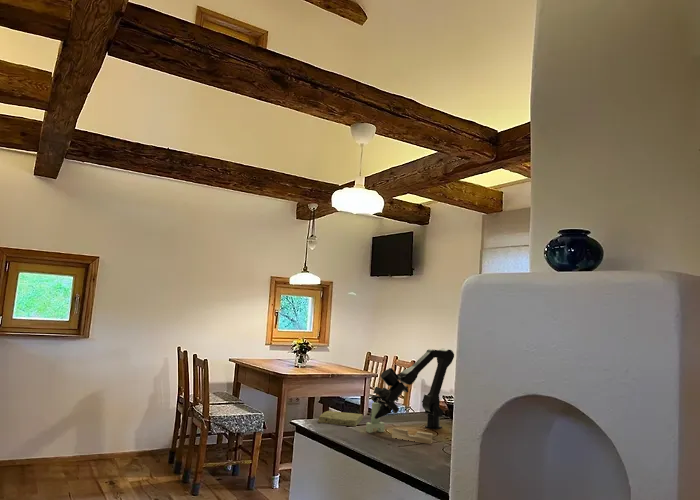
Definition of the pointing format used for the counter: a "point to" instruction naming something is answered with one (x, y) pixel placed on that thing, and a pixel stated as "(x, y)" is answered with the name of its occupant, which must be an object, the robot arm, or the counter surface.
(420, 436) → the birch slotted plate
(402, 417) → the counter surface
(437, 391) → the robot arm
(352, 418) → the decorative tile
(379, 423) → the green joystick knob
